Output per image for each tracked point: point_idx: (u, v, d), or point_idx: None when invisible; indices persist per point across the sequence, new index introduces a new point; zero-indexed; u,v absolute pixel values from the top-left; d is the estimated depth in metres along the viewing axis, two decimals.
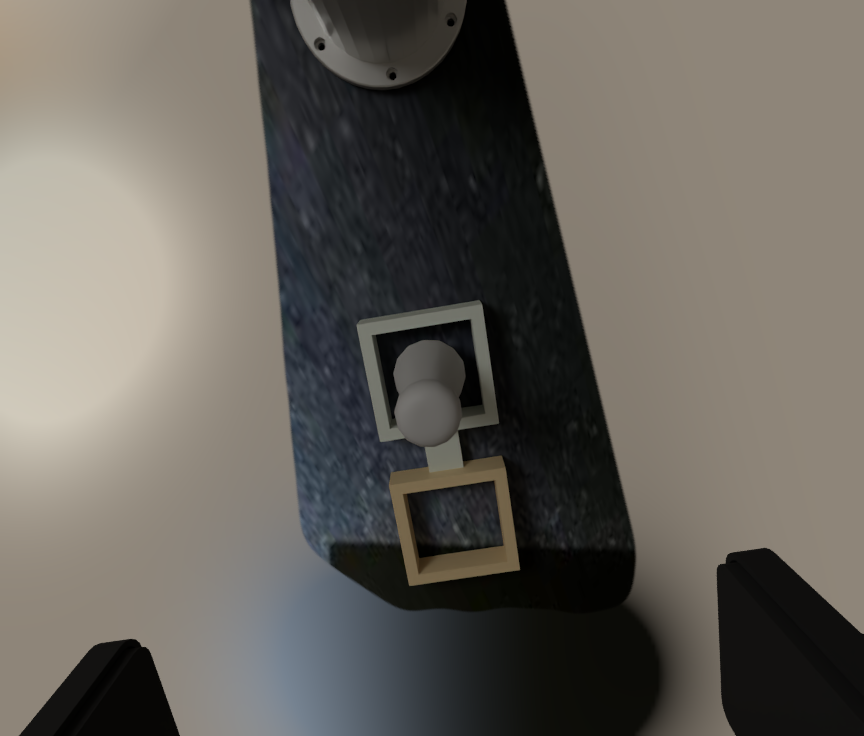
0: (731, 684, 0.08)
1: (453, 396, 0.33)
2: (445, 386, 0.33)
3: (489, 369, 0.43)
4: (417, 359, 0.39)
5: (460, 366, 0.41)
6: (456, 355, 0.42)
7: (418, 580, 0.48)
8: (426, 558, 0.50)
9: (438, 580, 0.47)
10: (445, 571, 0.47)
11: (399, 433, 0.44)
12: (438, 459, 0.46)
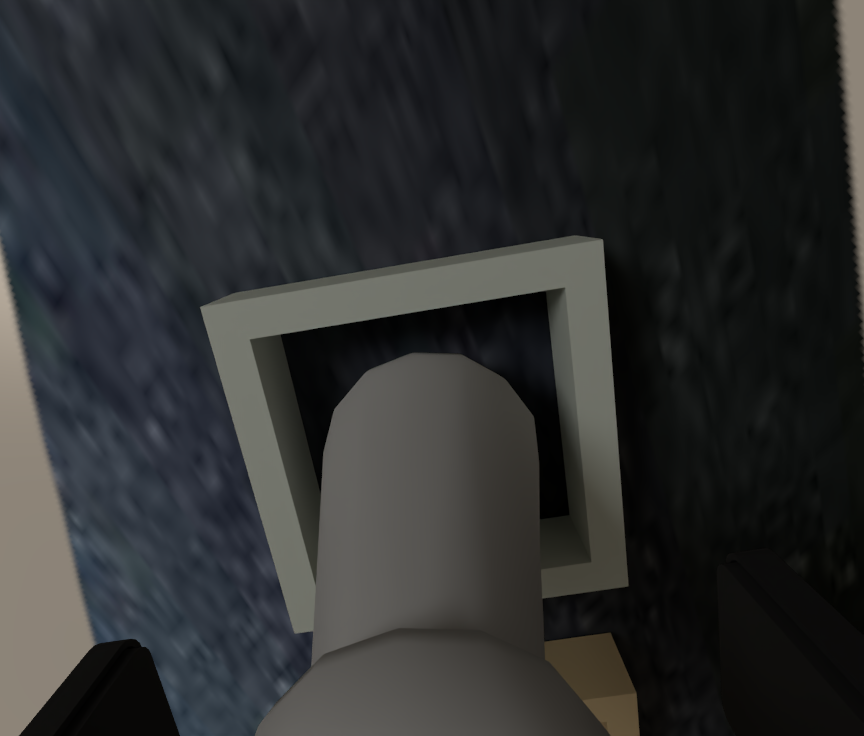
0: (731, 685, 0.08)
1: None
2: (547, 731, 0.05)
3: (612, 441, 0.14)
4: (390, 433, 0.11)
5: (532, 442, 0.13)
6: (516, 402, 0.13)
7: None
8: None
9: None
10: None
11: None
12: None
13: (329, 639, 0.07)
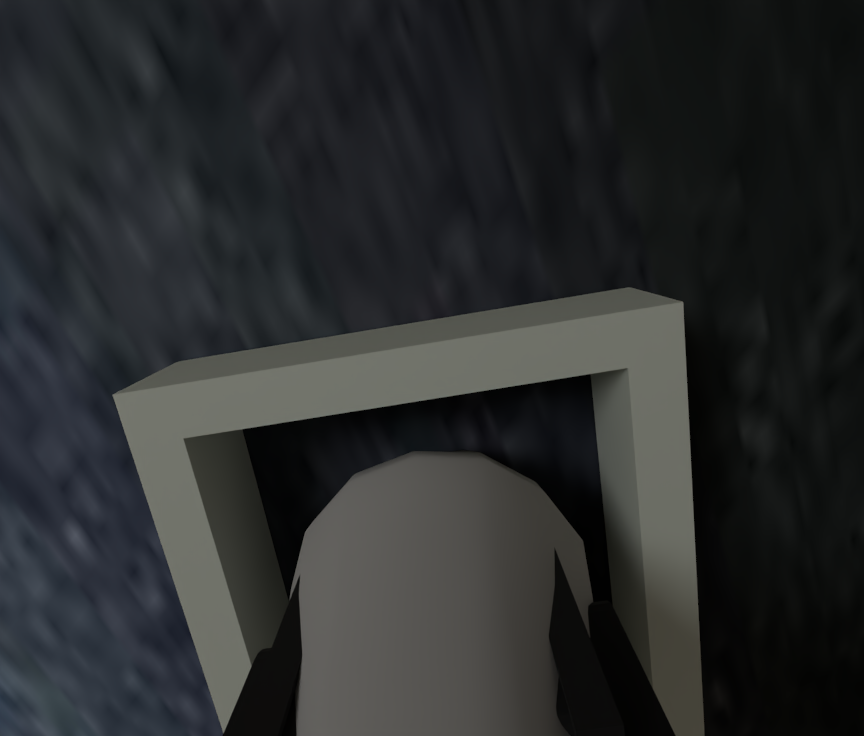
0: None
1: None
2: None
3: (688, 574, 0.10)
4: (379, 621, 0.07)
5: (589, 595, 0.09)
6: (560, 528, 0.09)
7: None
8: None
9: None
10: None
11: None
12: None
13: None
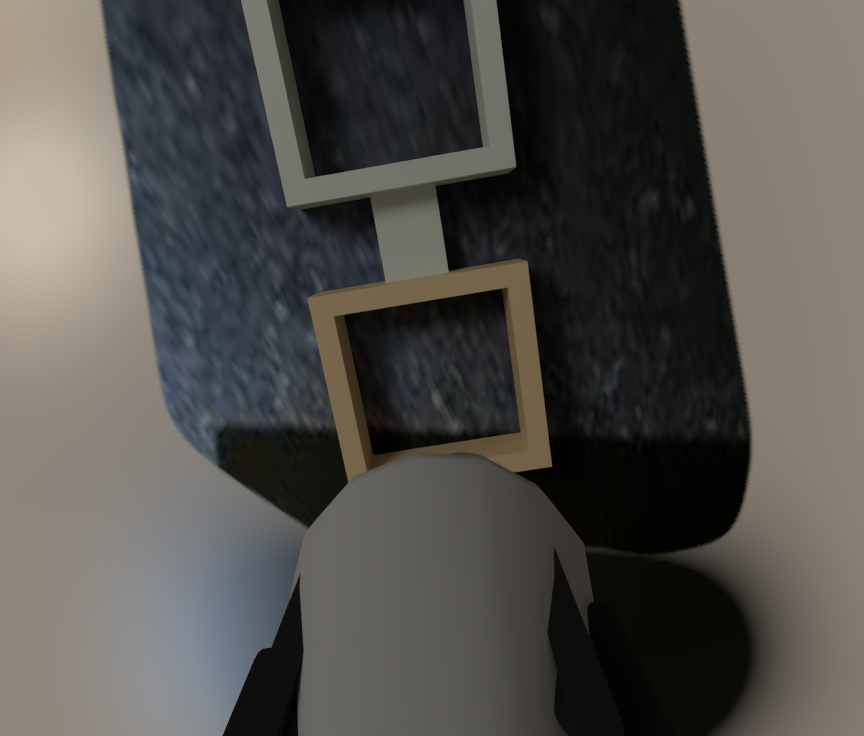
0: None
1: None
2: None
3: (497, 45, 0.21)
4: (378, 625, 0.07)
5: (589, 598, 0.09)
6: (561, 530, 0.09)
7: None
8: (385, 454, 0.28)
9: None
10: None
11: (323, 188, 0.23)
12: (402, 255, 0.25)
13: None
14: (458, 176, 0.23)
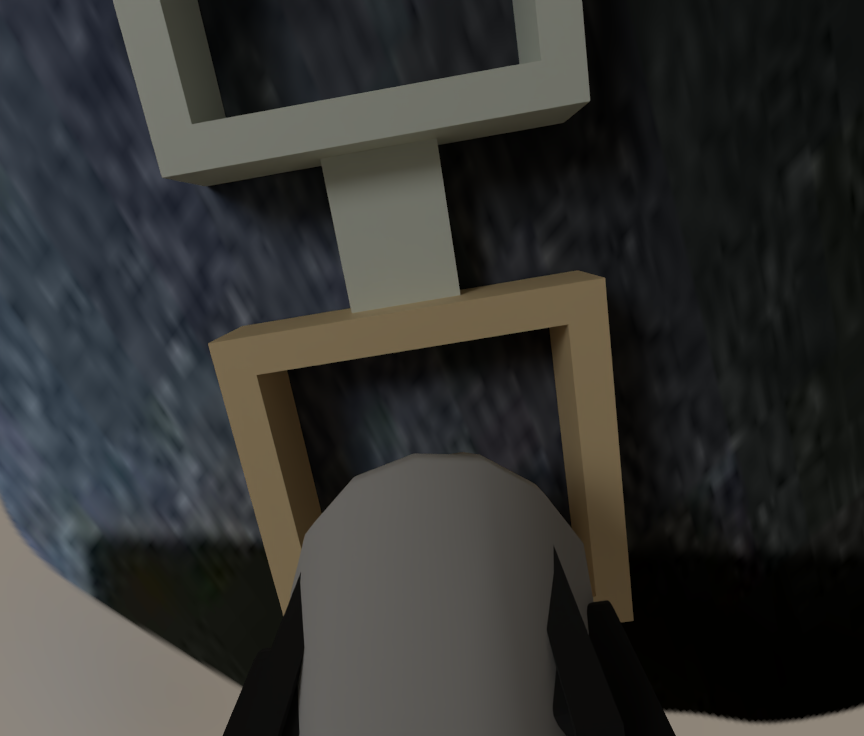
0: None
1: None
2: None
3: None
4: (379, 625, 0.07)
5: (589, 598, 0.09)
6: (561, 531, 0.09)
7: None
8: None
9: None
10: None
11: (228, 142, 0.12)
12: (380, 266, 0.14)
13: None
14: (480, 119, 0.12)
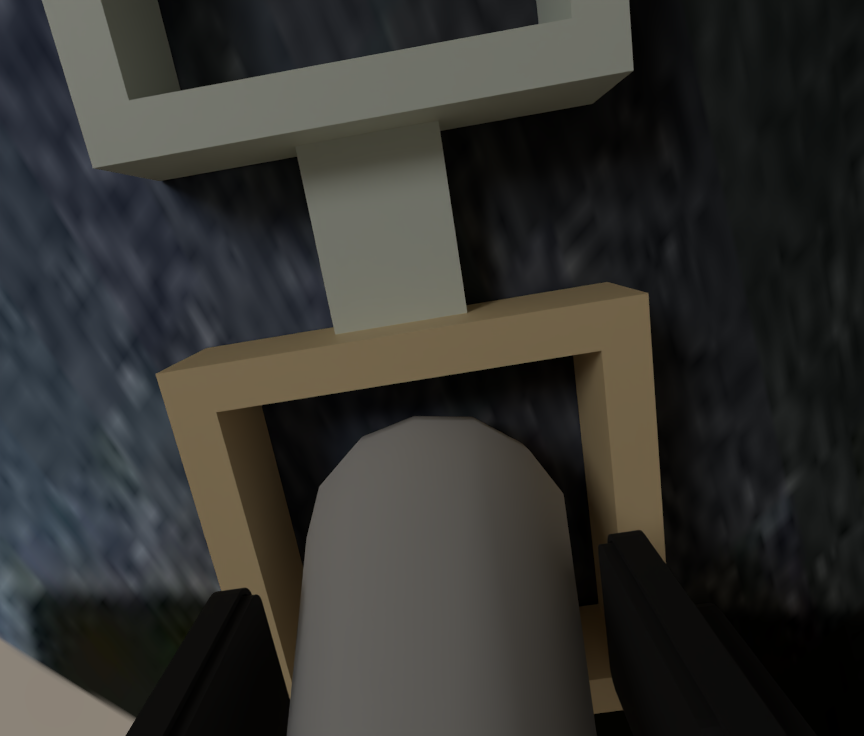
0: (613, 653, 0.09)
1: None
2: None
3: None
4: (386, 542, 0.08)
5: (566, 534, 0.10)
6: (543, 480, 0.11)
7: None
8: None
9: None
10: None
11: (175, 123, 0.10)
12: (369, 278, 0.12)
13: None
14: (494, 94, 0.10)
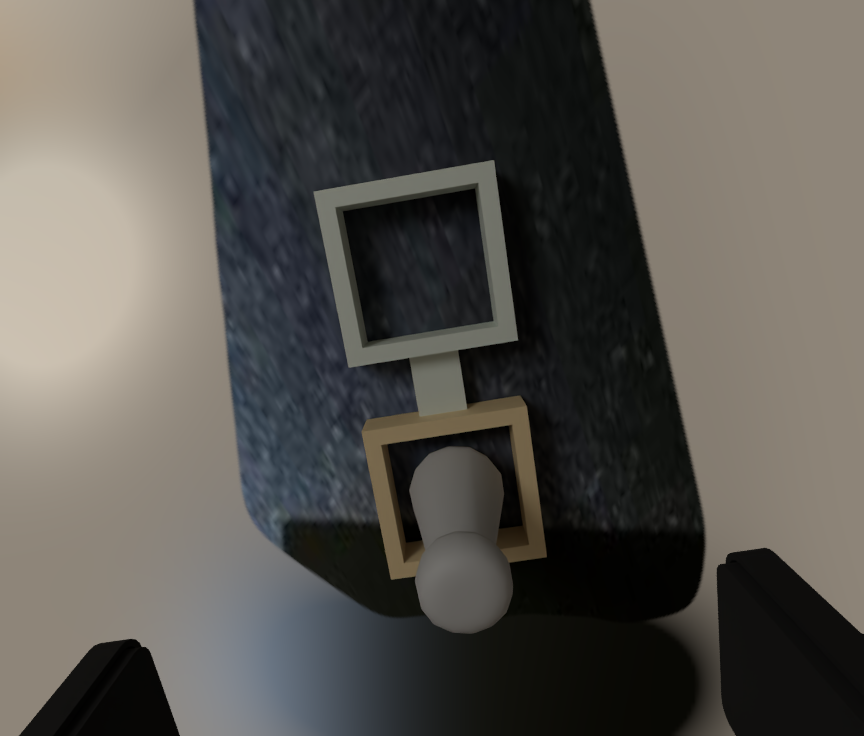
0: (731, 685, 0.08)
1: (501, 563, 0.23)
2: (488, 547, 0.23)
3: (504, 259, 0.30)
4: (443, 482, 0.29)
5: (499, 485, 0.31)
6: (492, 468, 0.32)
7: (403, 571, 0.34)
8: (415, 543, 0.36)
9: None
10: None
11: (376, 354, 0.31)
12: (432, 397, 0.33)
13: (432, 543, 0.26)
14: (475, 346, 0.31)
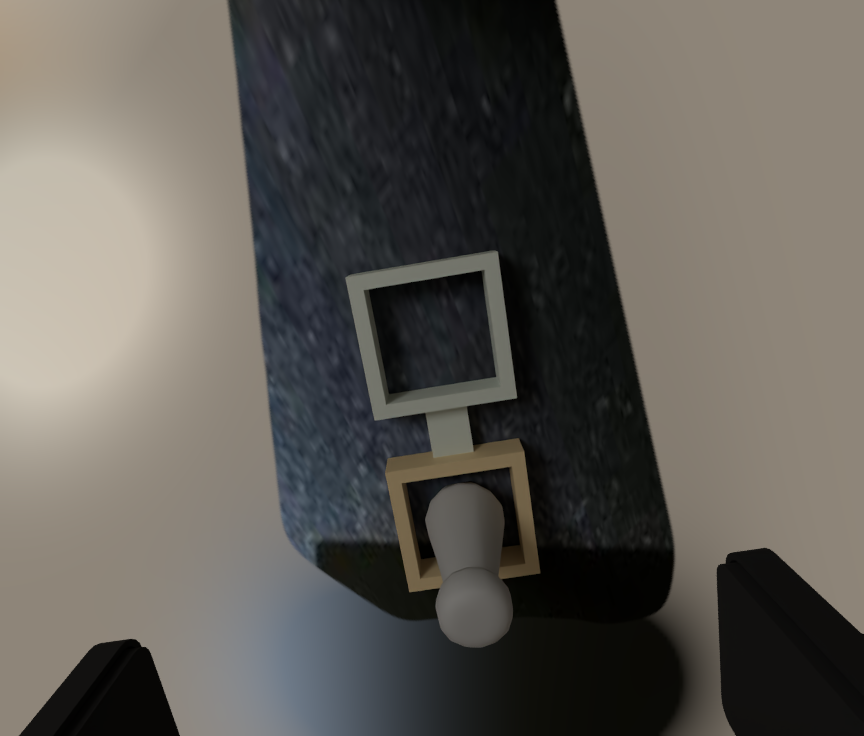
0: (731, 685, 0.08)
1: (504, 594, 0.29)
2: (494, 581, 0.29)
3: (506, 332, 0.35)
4: (455, 518, 0.35)
5: (500, 517, 0.37)
6: (495, 502, 0.38)
7: (420, 585, 0.40)
8: (429, 559, 0.42)
9: None
10: None
11: (397, 410, 0.37)
12: (444, 441, 0.39)
13: (447, 574, 0.32)
14: (481, 403, 0.37)
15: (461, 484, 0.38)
